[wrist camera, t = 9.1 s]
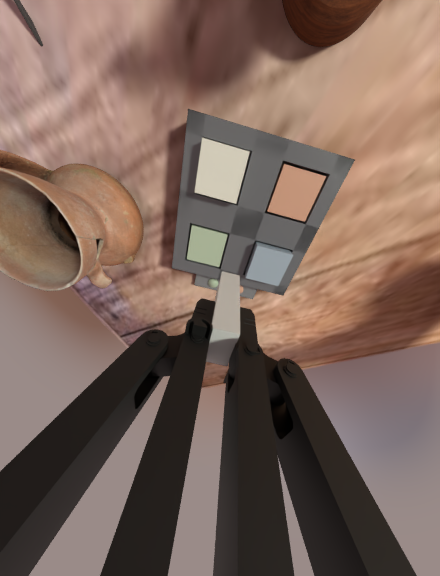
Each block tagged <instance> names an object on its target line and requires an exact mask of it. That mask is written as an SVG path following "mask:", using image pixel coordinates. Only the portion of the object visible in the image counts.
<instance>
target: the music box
mask: <svg viewBox="0 0 440 576" xmlns="http://www.w3.org/2000/svg"><path fill="white" fill-rule="evenodd" d="M282 1H283V6H284V10H285V14H286V17H287V19H288V22H289V24H290V26H291V28H292V29H293V31H294V32H295V34H296V35H297V36H298V37H299V38H300V39H301V40H303V41H304V42H306V43H307V44H310V45H313V46H318V47H324V46H330V45H333V44H336V43H338V42H340V41H342V40H344V39H345V38H347V37H348V36H350V35H351V34H352V33H353V32H355V31H356V30H357V29H358V28H359V27H360V26H361V25H362V24H363V23H364V22H365V20H366V19H367V18H368V17H369V16H370V14H371V13H372V12H373V11H374V10H375V8H376V7H377V6H378V5H379V3H380V2H381V1H382V0H282Z"/></svg>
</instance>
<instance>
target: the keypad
mask: <svg viewBox="0 0 440 576" xmlns="http://www.w3.org/2000/svg"><path fill="white" fill-rule="evenodd" d="M202 138H205V139H209V140H212V141H216V142H219V143H222V144H226V145H229V146H232V147H236V148H239V149H242V150H246V151H249V152H250V153H249V157H248V161H247V164H246V168H245V172H244V176H243V180H242V183H241V187H240V191H239V195H238V199H237V202H236V204H235V203H231V202H227V201H224V200H220V199H217V198H213V197H209V196H206V195H202V194H198V193H195V185H196V178H197V171H198V164H199V157H200V150H201V143H202ZM354 161H355V160H354V159H351V158H348V157H345V156H341V155H338V154H335V153H331V152H328V151H325V150H322V149H318V148H315V147H312V146H309V145H305V144H302V143H299V142H295V141H292V140H289V139H286V138H282V137H279V136H276V135H273V134H269V133H266V132H263V131H259V130H256V129H253V128H250V127H246V126H243V125H240V124H237V123H233V122H230V121H227V120H223V119H220V118H217V117H214V116H210V115H207V114H204V113H200V112H197V111H194V110H191V109H188V116H187V126H186V136H185V145H184V155H183V165H182V175H181V184H180V194H179V204H178V214H177V223H176V233H175V243H174V253H173V262H172V268H174V269H178V270H182V271H186V272H190V273H195V274H199V275H203V276H207V277H211V278H215V279H219V280H220V277H221V273H222V271H223V272H227V273H231V274H235V275H240V285H243V286H247V287H251V288H255V289H259V290H263V291H267V292H271V293H275V294H279V295H284V293H285V291H286V289H287V287H288V286H289V284H290V282H291V280H292V278H293V276H294V274H295V272H296V270H297V268H298V267H299V265H300V263H301V261H302V259H303V257H304V255H305V253H306V251H307V250H308V248H309V246H310V244H311V242H312V240H313V238H314V236H315V234H316V232H317V231H318V229H319V227H320V225H321V223H322V221H323V219H324V217H325V215H326V214H327V212H328V210H329V208H330V206H331V204H332V202H333V200H334V198H335V196H336V195H337V193H338V191H339V189H340V187H341V185H342V183H343V181H344V179H345V178H346V176H347V174H348V172H349V170H350V168H351V166H352V164H353V162H354ZM283 164H286V165H289V166H293V167H296V168H299V169H303V170H306V171H310V172H313V173H316V174H320V175H323V176H326V178H325V180H324V182H323V185H322V187H321V189H320V191H319V193H318V195H317V197H316V199H315V201H314V203H313V205H312V208H311V210H310V212H309V214H308V216H307V218H306V220H305V222H304V221H301V220H297V219H293V218H290V217H286V216H282V215H279V214H275V213H272V212H268V211H267V210H266V208H267V205H268V202H269V199H270V196H271V193H272V191H273V188H274V185H275V182H276V179H277V176H278V174H279V171H280V168H281V165H283ZM193 224H196V225H200V226H204V227H207V228H211V229H215V230H219V231H222V232H226V233H228V235H227V239H226V243H225V247H224V251H223V254H222V258H221V262H220V266H219V267H216V266H212V265H208V264H204V263H200V262H196V261H192V260H188V259H187V254H188V247H189V240H190V234H191V227H192V225H193ZM256 241H257V242H261V243H264V244H268V245H272V246H276V247H280V248H283V249H287V250H290V251H291V253H292V254H293V257H292V259H291V261H290V263H289V265H288V267H287V269H286V271H285V273H284V275H283V277H282V279H281V281H280V283H279V286H275V285H271V284H267V283H263V282H259V281H255V280H251V279H247V278H246V277H245V271H246V268H247V265H248V262H249V259H250V256H251V254H252V251H253V248H254V245H255V242H256Z"/></svg>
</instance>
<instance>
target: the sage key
mask: <svg viewBox="0 0 440 576" xmlns="http://www.w3.org/2000/svg"><path fill="white" fill-rule="evenodd" d="M227 235H228V233H226V232H222V231H219V230H215V229H211V228H207V227H204V226H200V225H196V224H193V225H192V227H191V234H190V240H189V247H188V254H187V259H188V260H192V261H196V262H200V263H204V264H208V265H212V266H216V267H219V266H220V262H221V258H222V254H223V251H224V247H225V243H226V239H227Z"/></svg>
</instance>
